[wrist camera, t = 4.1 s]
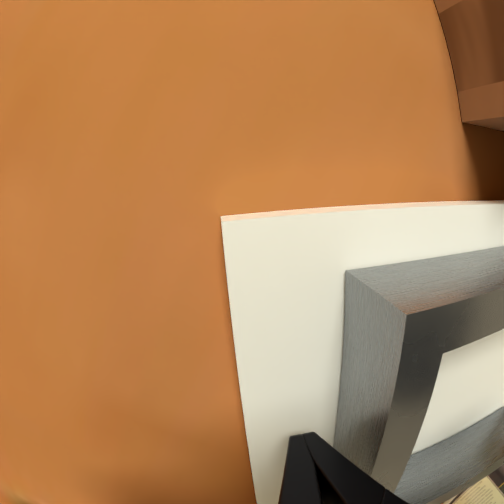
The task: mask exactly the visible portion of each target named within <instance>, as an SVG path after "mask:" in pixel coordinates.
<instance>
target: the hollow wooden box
mask: <svg viewBox="0 0 504 504" xmlns="http://www.w3.org/2000/svg"><path fill="white" fill-rule="evenodd" d="M434 2H435V5H436V8H437V11H438V14H439V17H440V20H441V24H442V27H443V31H444V34H445V38H446V41H447V45H448V49H449V53H450V57H451V62H452V66H453V71H454V75H455V81H456V86H457V91H458V97H459V104H460V110H461V118H462V122H464V123H469V124H473V125H478V126H482V127H487V128H491V129H495V130H499V131H503V132H504V0H434Z"/></svg>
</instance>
